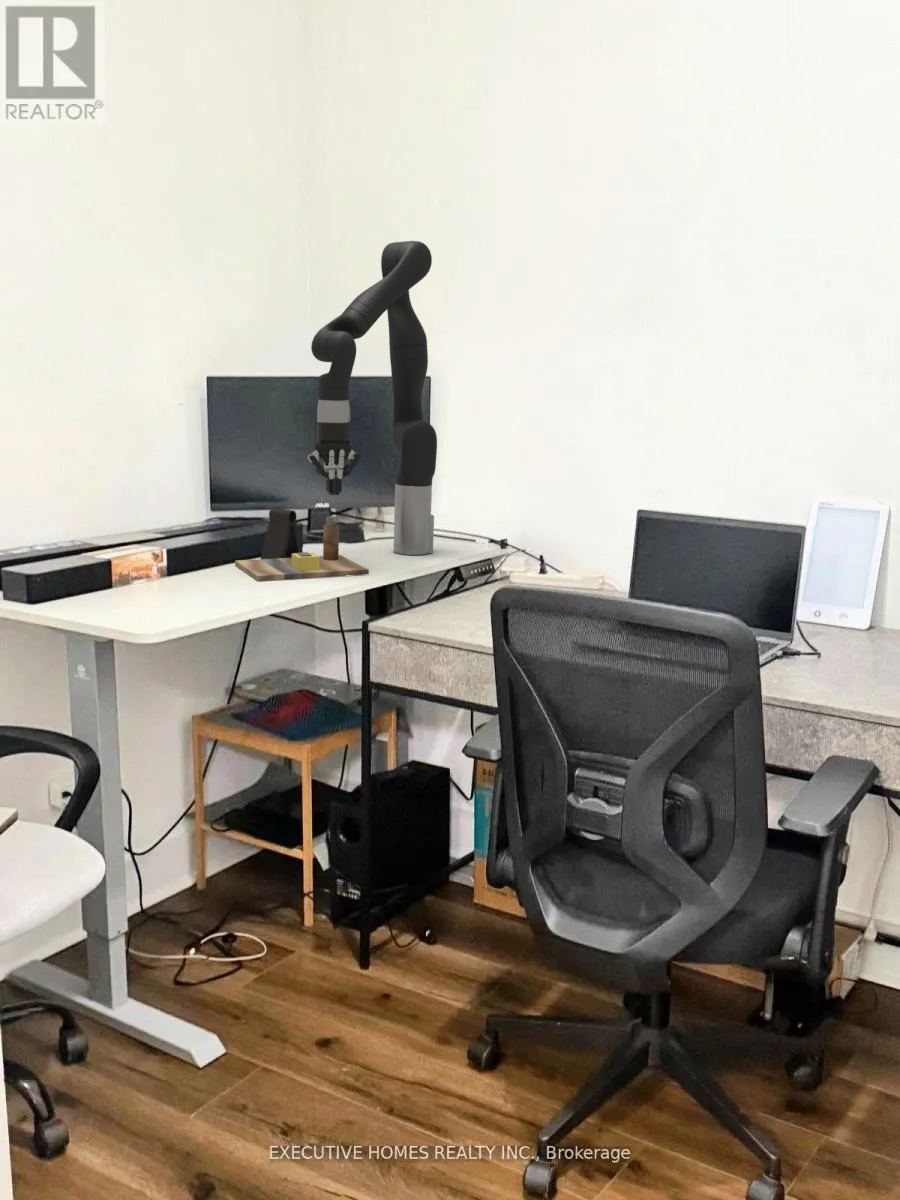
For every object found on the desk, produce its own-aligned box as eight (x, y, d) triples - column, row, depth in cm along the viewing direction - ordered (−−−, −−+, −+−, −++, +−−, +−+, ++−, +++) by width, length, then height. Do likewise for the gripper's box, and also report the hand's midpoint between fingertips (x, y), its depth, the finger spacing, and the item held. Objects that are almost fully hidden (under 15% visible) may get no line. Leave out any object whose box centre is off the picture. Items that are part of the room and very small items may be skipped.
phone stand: (279, 563, 275) (280, 513, 272) (260, 560, 278) (260, 510, 275) (304, 558, 282) (304, 508, 280) (284, 554, 286) (285, 506, 283)
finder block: (312, 565, 268) (312, 551, 267) (319, 569, 263) (319, 555, 263) (291, 566, 266) (291, 552, 265) (298, 570, 261) (298, 556, 261)
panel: (340, 560, 282) (340, 555, 281) (368, 574, 266) (368, 569, 266) (235, 565, 270) (235, 560, 270) (257, 581, 255) (257, 575, 254)
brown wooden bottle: (335, 557, 278) (335, 515, 276) (340, 560, 275) (341, 518, 273) (321, 557, 277) (321, 516, 275) (326, 560, 274) (326, 518, 271)
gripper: (354, 418, 275) (354, 491, 279) (300, 419, 269) (301, 493, 273) (367, 420, 268) (366, 495, 272) (312, 421, 262) (312, 498, 266)
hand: (333, 494), depth 272 cm, fingers closed
